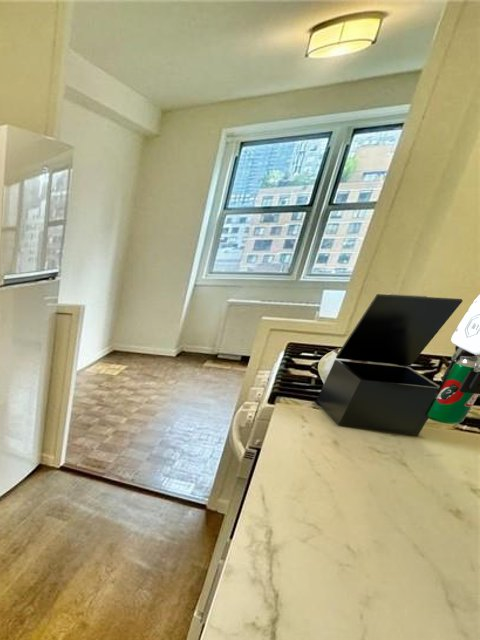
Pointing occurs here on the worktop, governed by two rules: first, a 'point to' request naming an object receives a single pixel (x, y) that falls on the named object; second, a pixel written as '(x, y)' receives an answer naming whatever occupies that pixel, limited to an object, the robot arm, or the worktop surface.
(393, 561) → the worktop surface
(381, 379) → the bin
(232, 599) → the worktop surface
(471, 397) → the soda can
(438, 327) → the bin lid
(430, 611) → the worktop surface
